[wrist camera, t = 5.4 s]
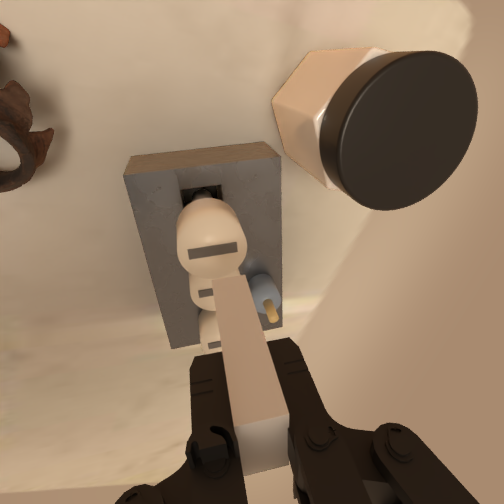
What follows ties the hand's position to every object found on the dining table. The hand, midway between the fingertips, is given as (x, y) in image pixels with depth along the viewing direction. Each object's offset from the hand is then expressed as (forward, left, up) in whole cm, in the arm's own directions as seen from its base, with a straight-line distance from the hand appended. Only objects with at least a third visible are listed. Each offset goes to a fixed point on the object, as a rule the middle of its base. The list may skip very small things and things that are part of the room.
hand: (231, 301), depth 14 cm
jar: (+11, +5, -16) cm, 20 cm away
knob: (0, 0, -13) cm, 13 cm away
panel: (0, -5, -16) cm, 17 cm away
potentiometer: (+4, -8, -11) cm, 14 cm away
